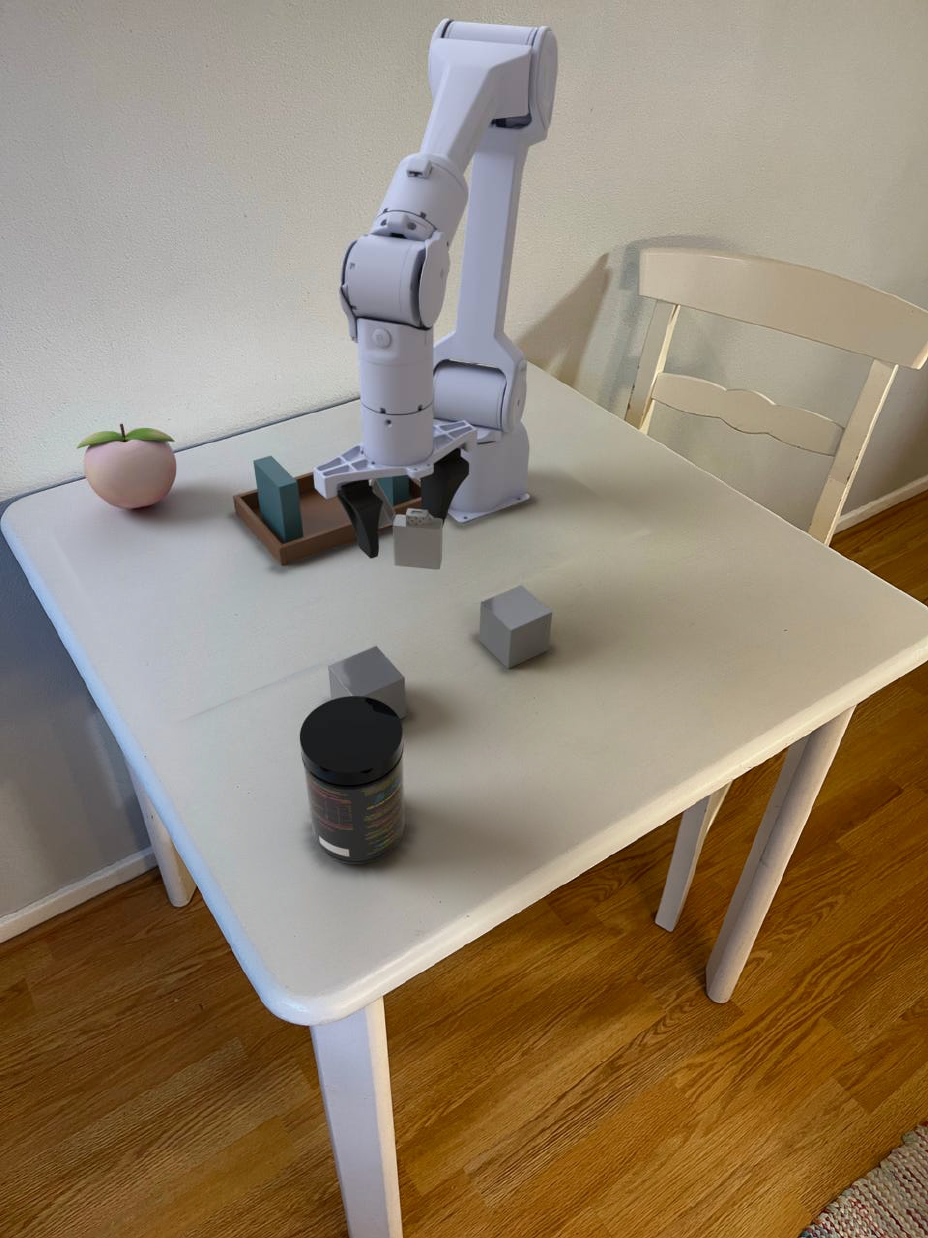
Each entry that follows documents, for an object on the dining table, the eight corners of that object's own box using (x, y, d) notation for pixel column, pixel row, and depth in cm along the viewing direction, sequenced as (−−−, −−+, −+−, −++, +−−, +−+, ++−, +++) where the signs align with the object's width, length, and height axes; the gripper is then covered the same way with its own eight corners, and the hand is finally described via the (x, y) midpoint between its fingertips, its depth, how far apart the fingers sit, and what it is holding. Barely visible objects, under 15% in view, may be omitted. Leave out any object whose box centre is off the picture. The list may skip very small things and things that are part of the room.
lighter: (442, 558, 81) (443, 481, 75) (439, 569, 79) (440, 492, 74) (364, 550, 81) (360, 474, 76) (360, 562, 80) (355, 484, 75)
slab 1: (278, 512, 95) (271, 454, 91) (304, 540, 92) (297, 481, 87) (261, 518, 95) (252, 460, 90) (286, 546, 91) (279, 487, 86)
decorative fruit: (101, 539, 92) (76, 453, 85) (91, 499, 97) (67, 415, 91) (194, 520, 95) (177, 435, 88) (179, 481, 100) (162, 399, 94)
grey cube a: (518, 622, 83) (521, 584, 81) (548, 650, 81) (552, 612, 78) (478, 640, 81) (480, 601, 79) (508, 669, 79) (511, 630, 76)
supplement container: (420, 808, 67) (419, 711, 60) (382, 882, 62) (376, 785, 55) (338, 782, 69) (328, 685, 62) (295, 851, 64) (279, 754, 57)
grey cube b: (378, 684, 77) (376, 645, 74) (405, 716, 74) (405, 677, 71) (331, 705, 75) (327, 665, 72) (358, 739, 72) (355, 699, 69)
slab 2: (381, 479, 101) (378, 423, 96) (409, 504, 97) (408, 447, 93) (365, 484, 100) (362, 428, 96) (393, 509, 96) (391, 452, 92)
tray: (383, 468, 104) (382, 449, 102) (436, 514, 97) (436, 495, 95) (235, 515, 96) (232, 495, 94) (281, 569, 89) (279, 549, 87)
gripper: (339, 444, 64) (350, 592, 73) (502, 395, 71) (494, 536, 80) (295, 405, 69) (310, 549, 77) (451, 362, 75) (449, 499, 84)
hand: (400, 540), depth 79 cm, fingers closed on lighter, 6 cm apart
